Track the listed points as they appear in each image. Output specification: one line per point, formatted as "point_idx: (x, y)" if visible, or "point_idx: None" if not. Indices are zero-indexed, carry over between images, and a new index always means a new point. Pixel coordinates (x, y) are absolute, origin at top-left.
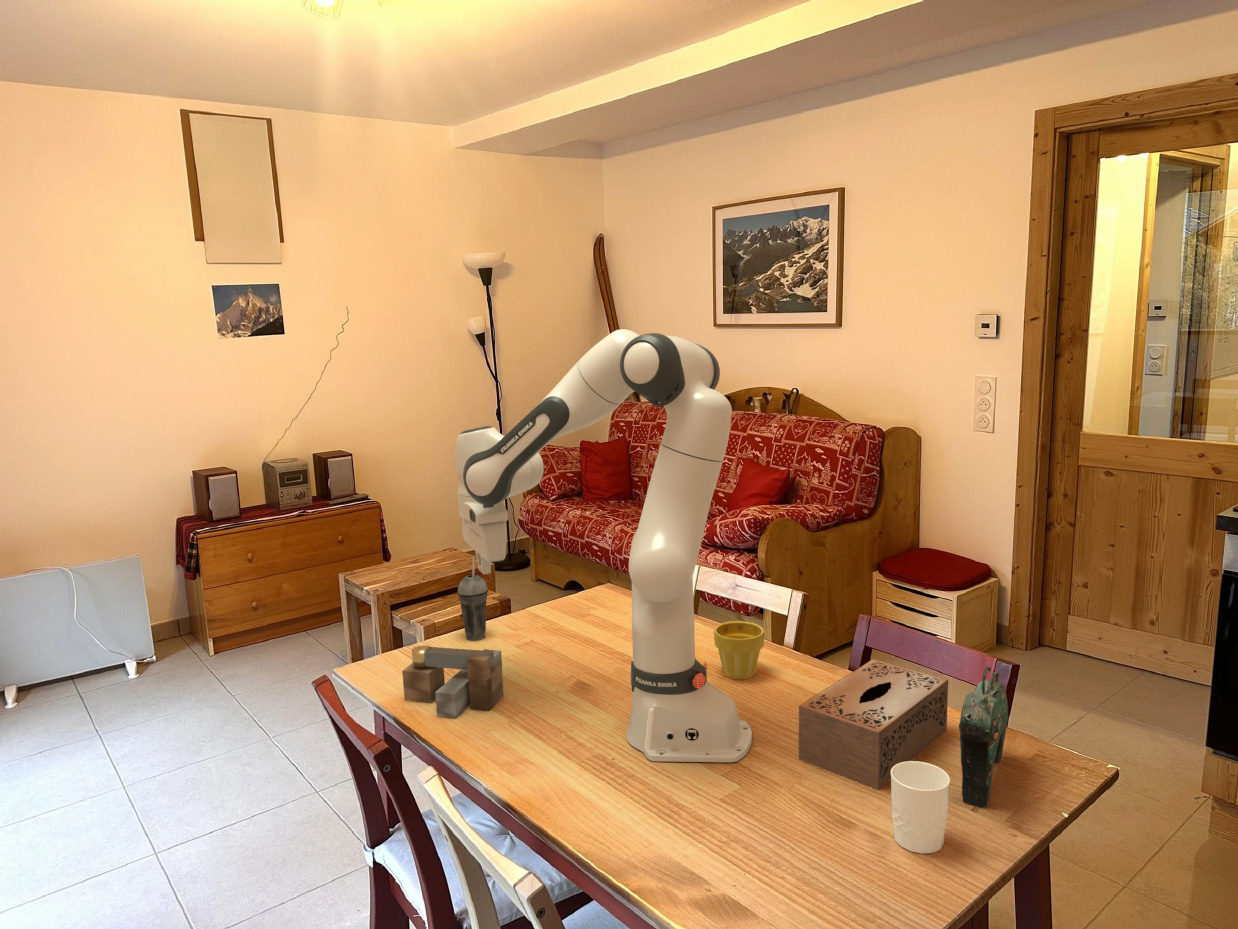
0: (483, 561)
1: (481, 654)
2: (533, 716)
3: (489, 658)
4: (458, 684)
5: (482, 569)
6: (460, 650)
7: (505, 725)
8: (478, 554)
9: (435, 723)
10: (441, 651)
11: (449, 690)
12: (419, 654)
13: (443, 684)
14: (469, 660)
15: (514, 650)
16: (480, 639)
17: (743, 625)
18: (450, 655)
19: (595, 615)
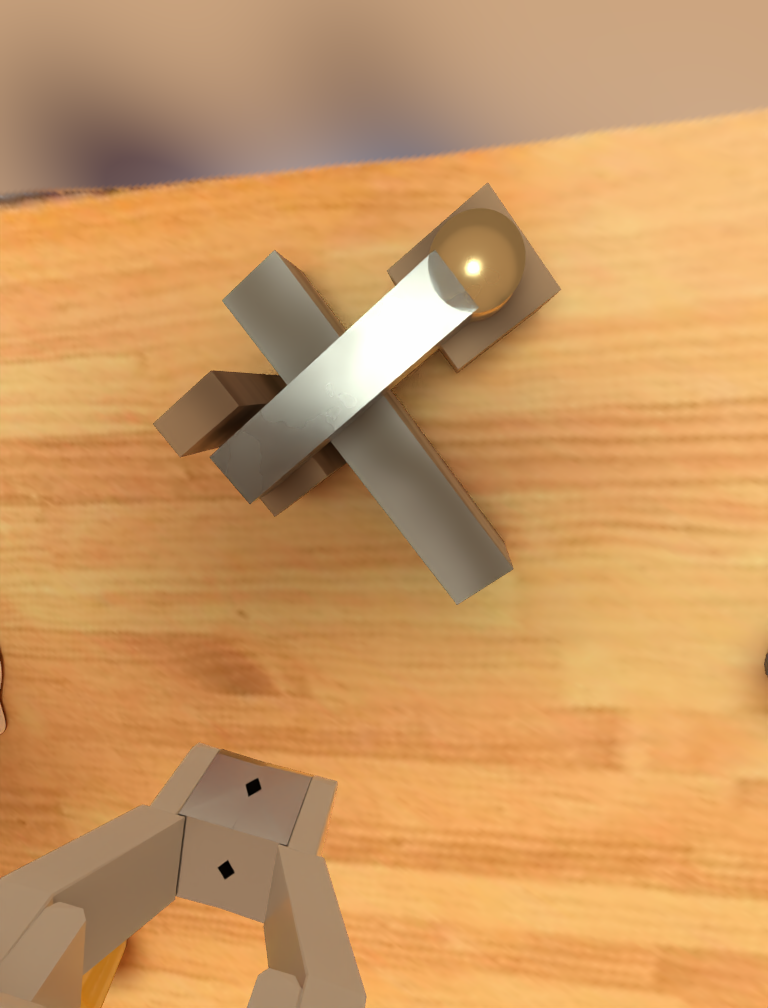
0: (47, 867)
1: (247, 451)
2: (151, 491)
3: (179, 451)
4: (285, 348)
5: (172, 777)
6: (340, 403)
7: (145, 408)
8: (253, 989)
9: (265, 248)
10: (385, 328)
11: (259, 300)
12: (437, 233)
13: (451, 364)
14: (205, 377)
15: (586, 688)
16: (766, 663)
17: None
18: (329, 347)
19: (642, 990)
